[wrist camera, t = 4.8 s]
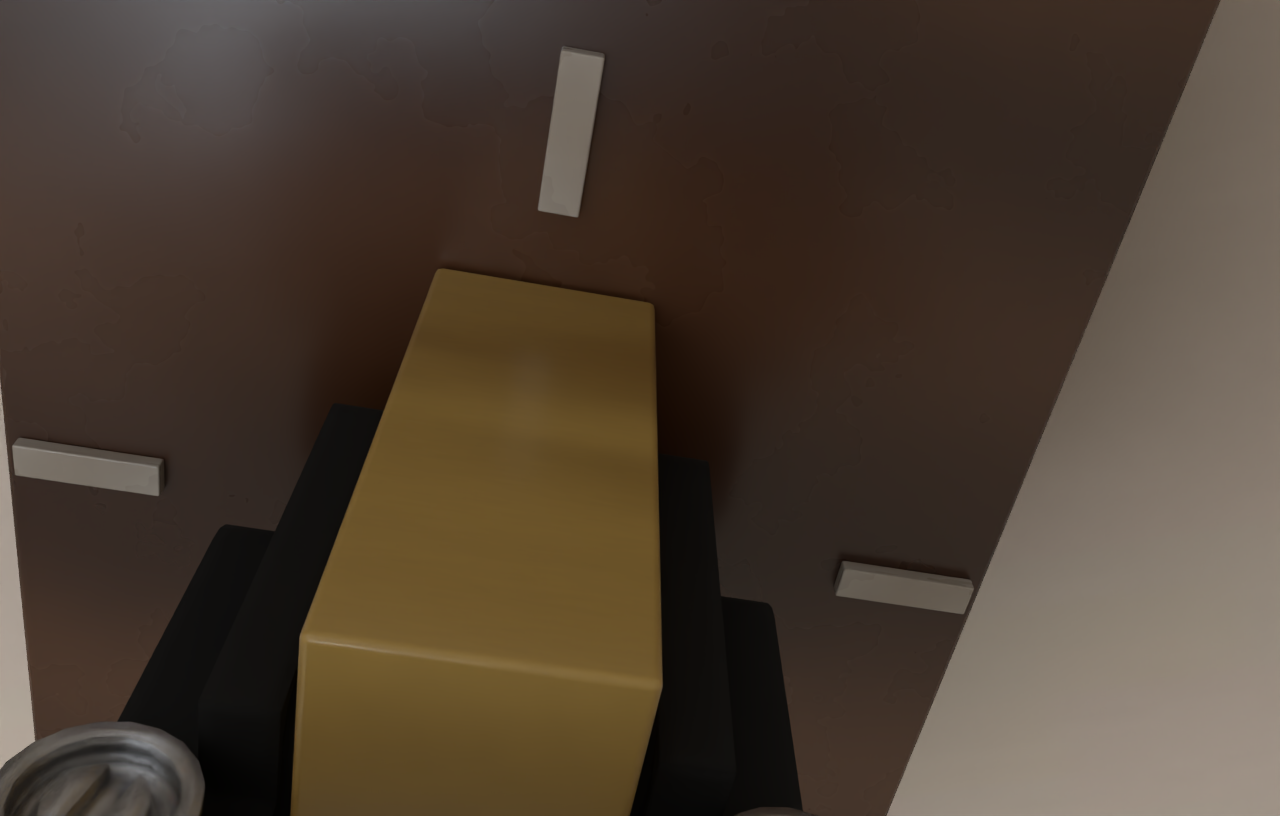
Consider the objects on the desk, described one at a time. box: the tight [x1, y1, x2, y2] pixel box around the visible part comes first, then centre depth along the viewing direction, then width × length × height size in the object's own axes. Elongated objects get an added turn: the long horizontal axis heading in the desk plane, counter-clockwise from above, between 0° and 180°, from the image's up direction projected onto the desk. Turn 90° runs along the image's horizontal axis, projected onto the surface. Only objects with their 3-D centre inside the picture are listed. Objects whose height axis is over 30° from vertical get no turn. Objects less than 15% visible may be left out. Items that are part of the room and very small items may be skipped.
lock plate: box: [0, 0, 1220, 816], centre depth 13 cm, size 14×10×3 cm
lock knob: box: [290, 268, 663, 816], centre depth 10 cm, size 6×2×5 cm, turn 170°
